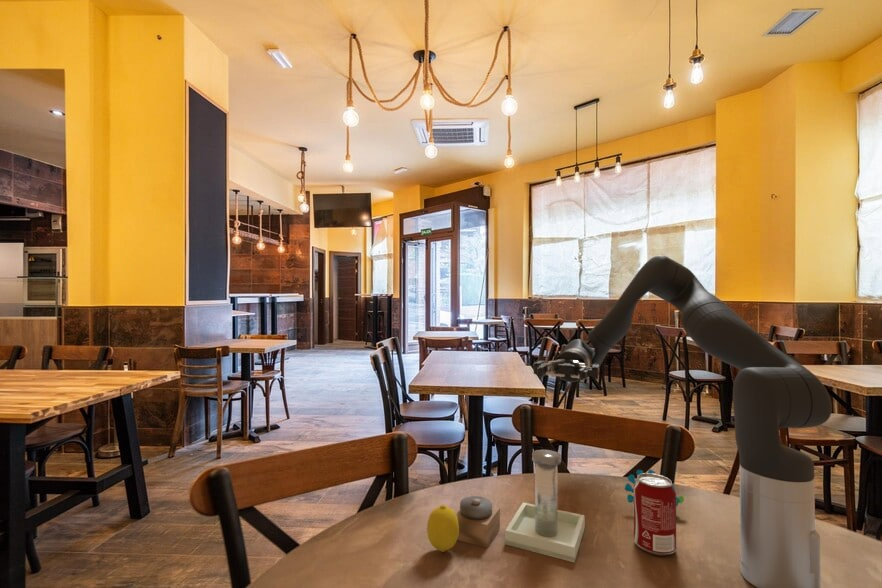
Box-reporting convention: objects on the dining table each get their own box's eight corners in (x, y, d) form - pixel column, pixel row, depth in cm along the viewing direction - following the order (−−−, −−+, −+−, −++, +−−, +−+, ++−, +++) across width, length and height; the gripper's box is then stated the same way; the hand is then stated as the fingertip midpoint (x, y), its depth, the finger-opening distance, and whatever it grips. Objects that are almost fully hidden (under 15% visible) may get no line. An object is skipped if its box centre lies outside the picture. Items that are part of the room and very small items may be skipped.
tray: (584, 528, 82) (584, 515, 82) (574, 562, 72) (574, 547, 72) (523, 514, 88) (523, 502, 88) (505, 544, 77) (505, 530, 77)
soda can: (681, 561, 72) (681, 489, 72) (638, 556, 74) (638, 485, 74) (669, 539, 79) (668, 473, 79) (629, 535, 80) (629, 470, 80)
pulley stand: (499, 529, 82) (499, 496, 82) (487, 547, 76) (487, 512, 76) (465, 520, 85) (466, 489, 85) (451, 538, 79) (451, 504, 79)
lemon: (437, 539, 78) (437, 495, 78) (464, 548, 75) (464, 502, 76) (420, 554, 74) (421, 507, 74) (448, 565, 71) (449, 516, 71)
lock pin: (563, 528, 81) (563, 452, 81) (557, 541, 76) (557, 461, 77) (535, 521, 83) (535, 448, 84) (528, 534, 79) (528, 456, 79)
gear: (623, 508, 87) (627, 462, 94) (620, 518, 91) (623, 473, 98) (685, 526, 83) (684, 476, 90) (678, 536, 87) (677, 488, 94)
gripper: (544, 347, 110) (528, 354, 96) (603, 350, 104) (595, 358, 90) (544, 377, 110) (528, 388, 96) (603, 381, 104) (595, 394, 89)
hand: (560, 373), depth 93 cm, fingers open, 8 cm apart
